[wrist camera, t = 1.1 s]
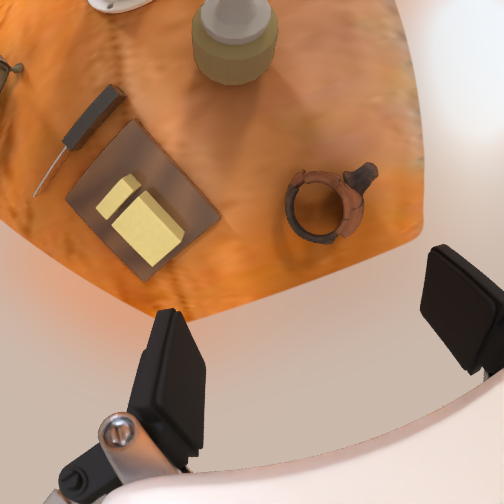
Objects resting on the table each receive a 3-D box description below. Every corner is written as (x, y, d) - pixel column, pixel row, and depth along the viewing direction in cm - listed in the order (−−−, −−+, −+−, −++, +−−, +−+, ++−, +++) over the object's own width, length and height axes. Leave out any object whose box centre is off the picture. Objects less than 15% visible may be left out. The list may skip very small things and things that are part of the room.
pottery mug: (332, 245, 37) (319, 267, 30) (284, 196, 38) (260, 206, 31) (395, 185, 31) (400, 193, 24) (342, 132, 31) (331, 125, 25)
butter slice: (105, 201, 30) (95, 208, 28) (130, 173, 29) (121, 178, 26) (115, 212, 31) (106, 220, 28) (141, 185, 30) (133, 191, 27)
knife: (38, 187, 29) (28, 192, 27) (118, 86, 25) (109, 83, 23) (46, 196, 30) (36, 202, 28) (127, 96, 26) (119, 94, 24)
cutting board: (68, 196, 30) (64, 199, 29) (135, 118, 27) (132, 118, 26) (146, 278, 37) (144, 282, 35) (221, 214, 34) (221, 218, 32)
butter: (120, 216, 31) (111, 225, 29) (146, 190, 30) (138, 196, 28) (157, 255, 34) (152, 267, 31) (185, 231, 33) (181, 241, 30)
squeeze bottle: (282, 68, 26) (339, 12, 10) (223, 103, 28) (214, 73, 12) (243, 19, 23) (257, -70, 7) (184, 53, 25) (137, -15, 8)
